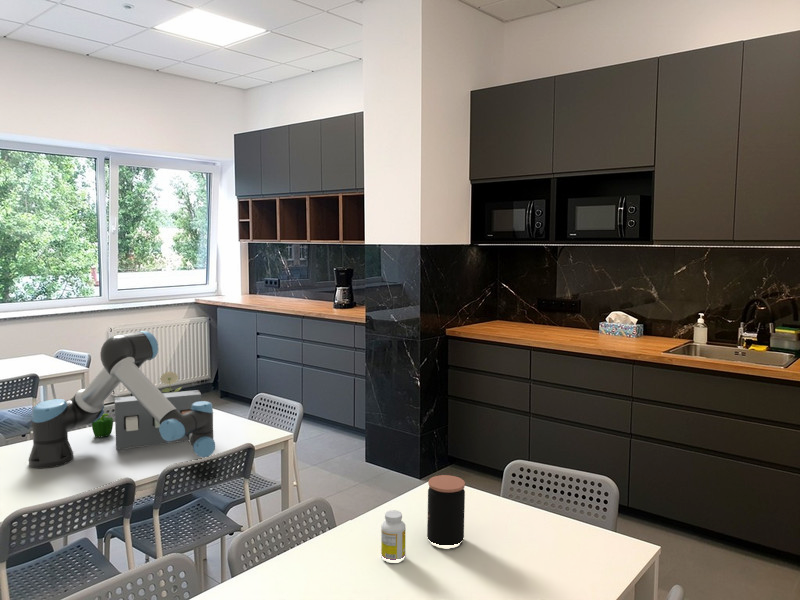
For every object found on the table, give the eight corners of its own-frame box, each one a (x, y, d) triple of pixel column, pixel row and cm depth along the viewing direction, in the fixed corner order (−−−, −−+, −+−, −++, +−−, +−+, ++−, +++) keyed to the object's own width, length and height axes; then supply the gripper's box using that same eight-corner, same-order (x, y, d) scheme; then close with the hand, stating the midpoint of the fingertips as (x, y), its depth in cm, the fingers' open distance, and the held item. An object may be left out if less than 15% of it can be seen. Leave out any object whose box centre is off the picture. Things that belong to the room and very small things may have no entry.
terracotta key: (182, 422, 256) (182, 412, 256) (180, 418, 262) (180, 408, 262) (193, 421, 258) (192, 411, 258) (190, 417, 264) (190, 407, 264)
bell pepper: (87, 437, 262) (86, 415, 261) (102, 432, 269) (101, 410, 268) (102, 439, 259) (102, 417, 258) (117, 434, 267) (116, 412, 266)
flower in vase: (192, 419, 290) (191, 368, 288) (185, 426, 279) (184, 374, 277) (165, 419, 290) (163, 368, 287) (157, 426, 278) (155, 374, 276)
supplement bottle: (398, 550, 169) (398, 506, 168) (409, 561, 163) (410, 516, 162) (377, 555, 166) (377, 511, 165) (387, 567, 160) (388, 521, 159)
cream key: (126, 431, 243) (126, 420, 243) (125, 426, 249) (125, 416, 249) (138, 429, 245) (137, 419, 245) (137, 425, 251) (136, 415, 251)
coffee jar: (441, 529, 182) (442, 472, 180) (470, 540, 175) (472, 481, 173) (419, 542, 174) (420, 482, 172) (450, 554, 167) (451, 492, 165)
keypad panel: (116, 449, 247) (114, 402, 245) (115, 443, 254) (114, 397, 252) (201, 438, 262) (201, 394, 260) (199, 433, 269) (198, 390, 267)
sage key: (155, 427, 248) (155, 417, 248) (154, 423, 254) (153, 413, 254) (166, 426, 250) (166, 416, 250) (165, 422, 256) (164, 412, 256)
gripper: (181, 448, 228) (173, 430, 249) (216, 443, 234) (205, 426, 255) (180, 429, 227) (173, 413, 248) (215, 424, 233) (205, 409, 254)
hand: (189, 420), depth 251 cm, fingers closed
